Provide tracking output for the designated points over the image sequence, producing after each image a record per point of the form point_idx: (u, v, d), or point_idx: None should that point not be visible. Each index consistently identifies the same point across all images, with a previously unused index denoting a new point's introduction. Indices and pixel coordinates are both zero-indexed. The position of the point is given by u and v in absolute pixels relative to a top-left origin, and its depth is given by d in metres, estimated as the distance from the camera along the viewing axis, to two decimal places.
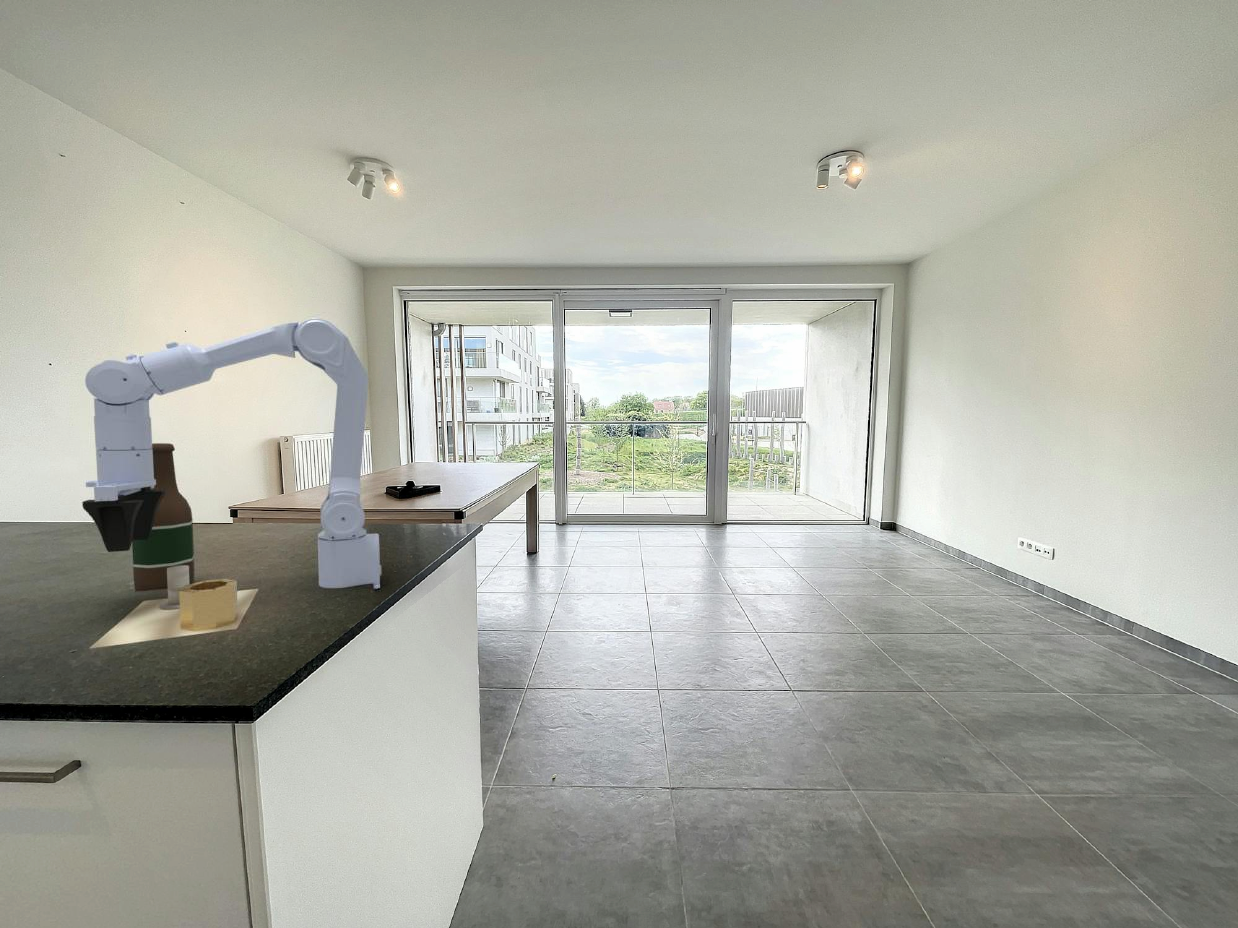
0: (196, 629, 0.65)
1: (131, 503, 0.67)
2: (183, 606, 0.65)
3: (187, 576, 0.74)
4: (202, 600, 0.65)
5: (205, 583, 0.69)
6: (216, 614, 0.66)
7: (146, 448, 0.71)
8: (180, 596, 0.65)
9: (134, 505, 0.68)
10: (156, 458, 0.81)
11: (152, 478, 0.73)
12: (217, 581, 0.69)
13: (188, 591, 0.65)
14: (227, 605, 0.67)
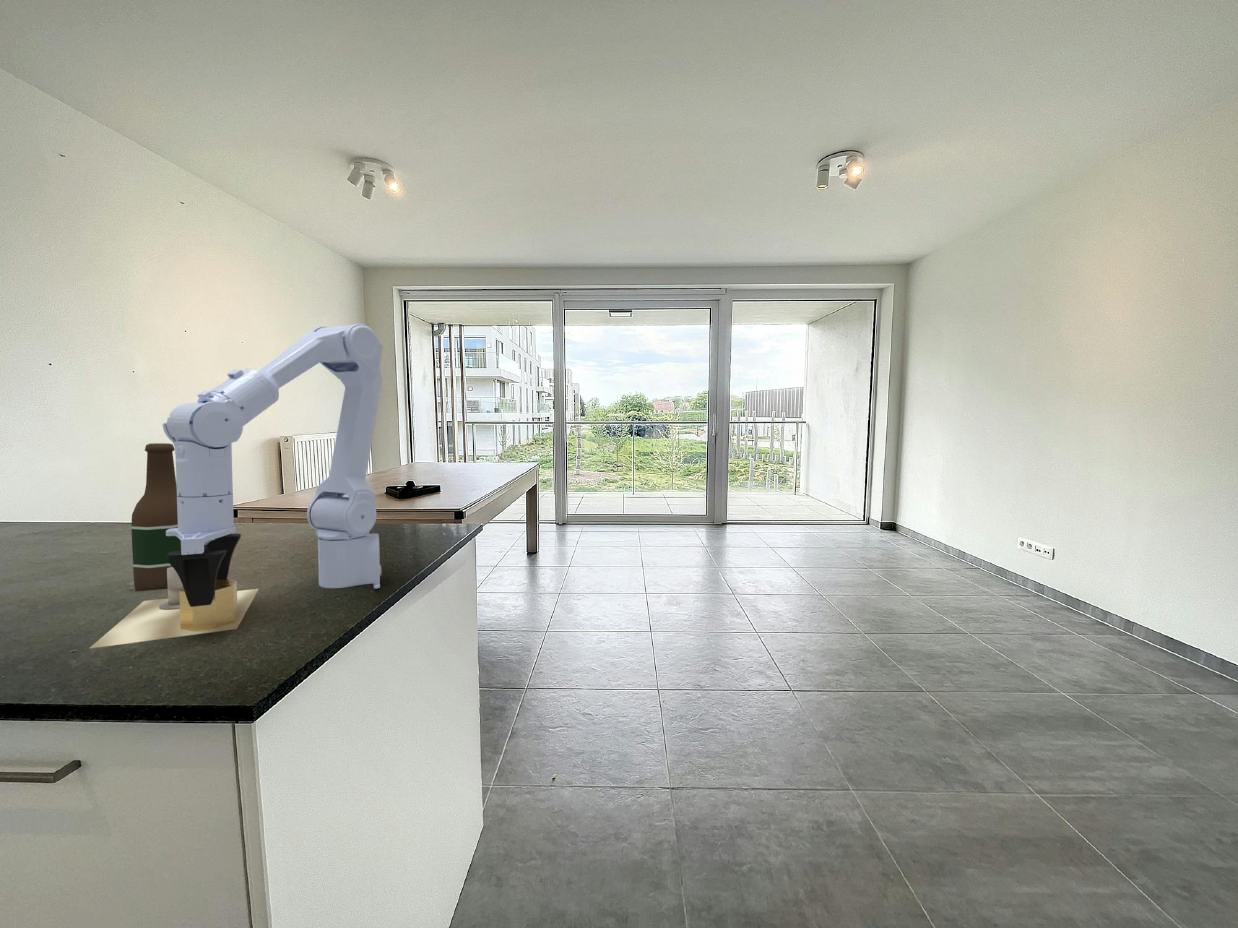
0: (196, 629, 0.65)
1: (217, 555, 0.63)
2: (183, 606, 0.65)
3: None
4: None
5: None
6: (216, 614, 0.66)
7: (232, 491, 0.68)
8: (180, 596, 0.65)
9: (220, 557, 0.63)
10: (156, 458, 0.81)
11: (232, 524, 0.68)
12: (217, 581, 0.69)
13: None
14: (227, 605, 0.67)
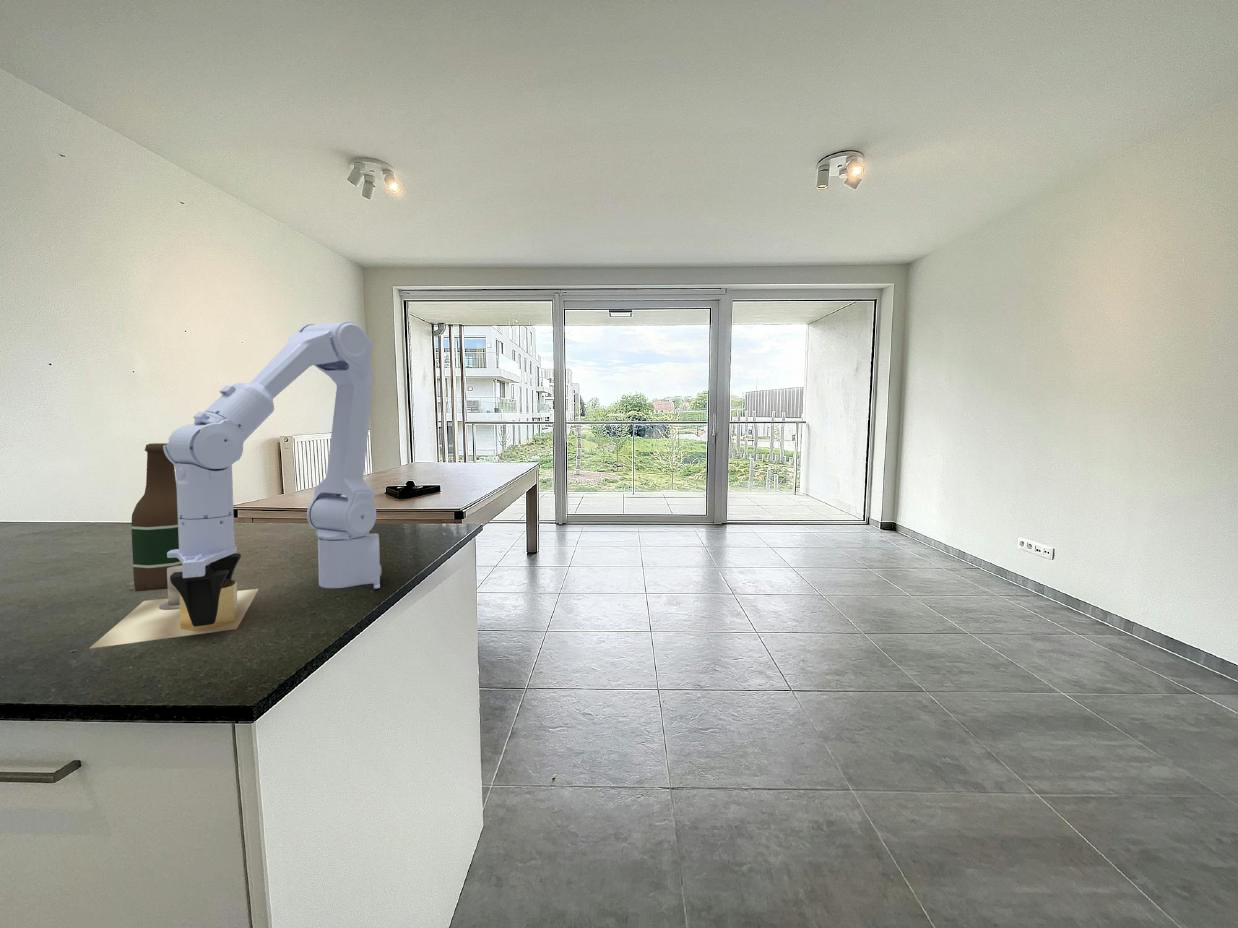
0: (196, 629, 0.65)
1: (219, 575, 0.64)
2: (183, 606, 0.65)
3: None
4: None
5: None
6: None
7: None
8: (180, 596, 0.65)
9: (223, 577, 0.64)
10: (156, 458, 0.81)
11: (233, 544, 0.68)
12: None
13: None
14: (227, 605, 0.67)
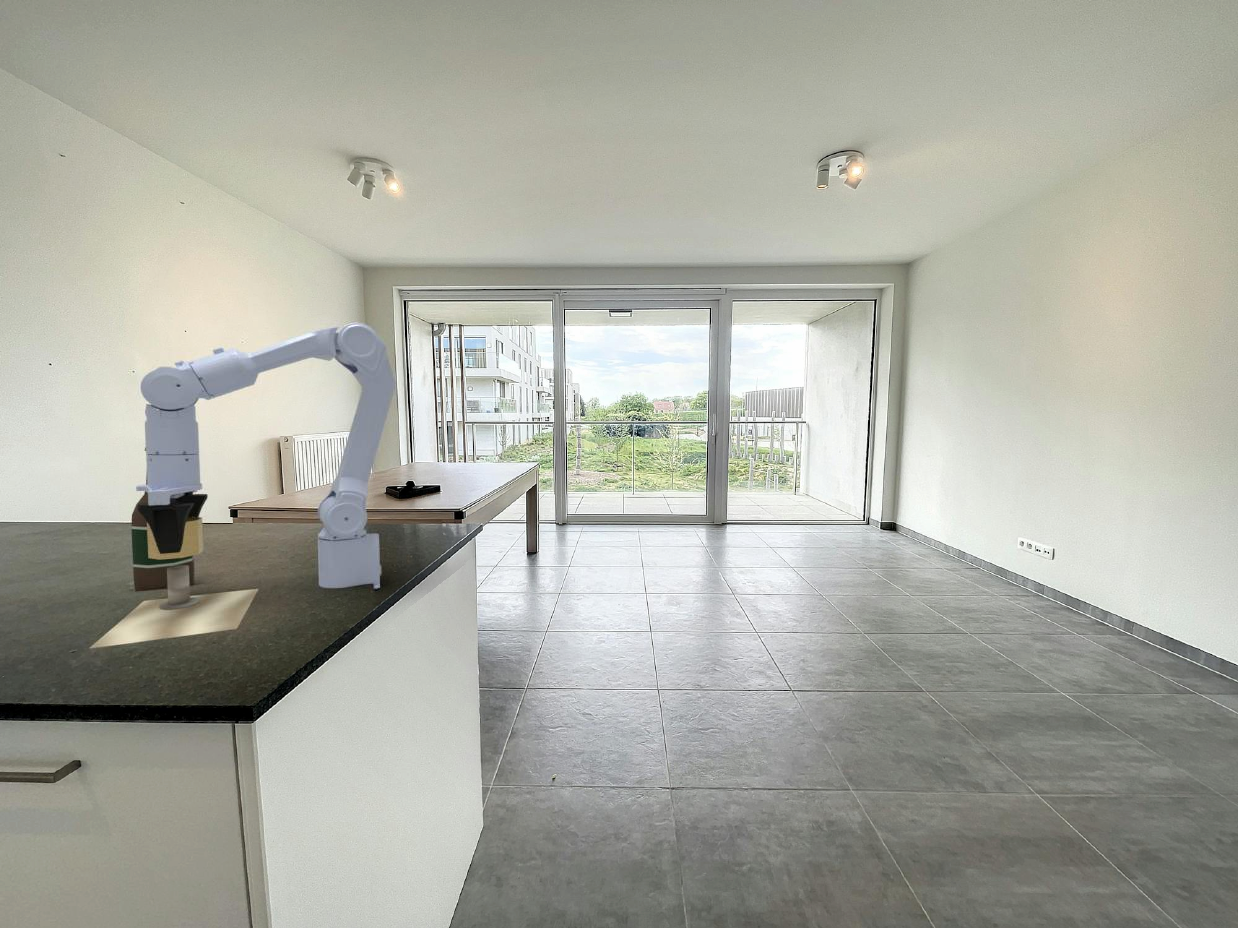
0: (162, 558, 0.71)
1: (184, 506, 0.69)
2: (150, 537, 0.71)
3: (187, 576, 0.74)
4: None
5: None
6: None
7: (195, 453, 0.73)
8: (148, 527, 0.71)
9: (187, 508, 0.70)
10: None
11: (199, 482, 0.74)
12: None
13: None
14: (192, 538, 0.73)
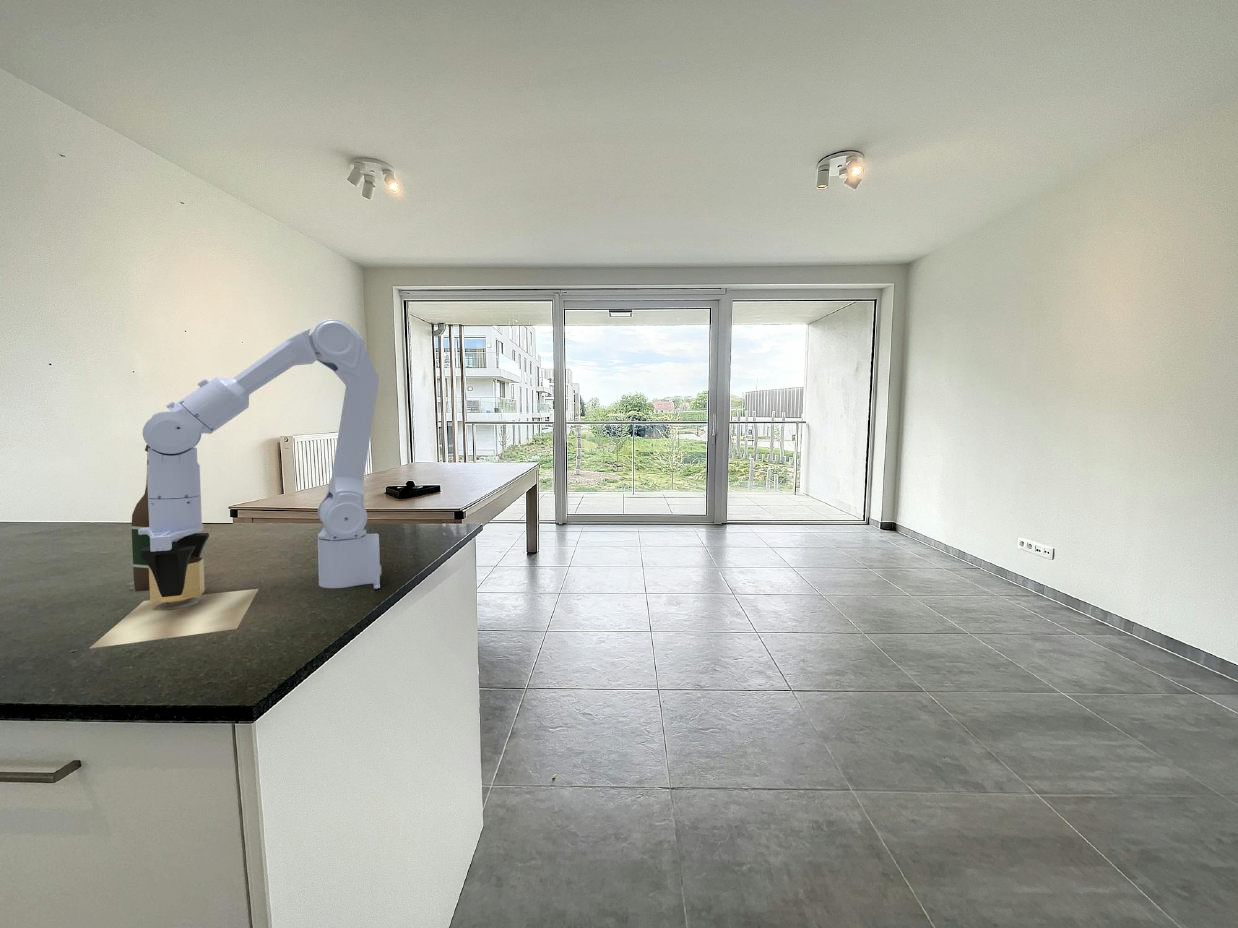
0: (164, 601, 0.71)
1: (185, 550, 0.70)
2: (152, 580, 0.71)
3: None
4: None
5: None
6: None
7: (197, 495, 0.73)
8: (149, 570, 0.71)
9: (188, 552, 0.70)
10: None
11: (200, 523, 0.74)
12: None
13: None
14: (193, 579, 0.73)
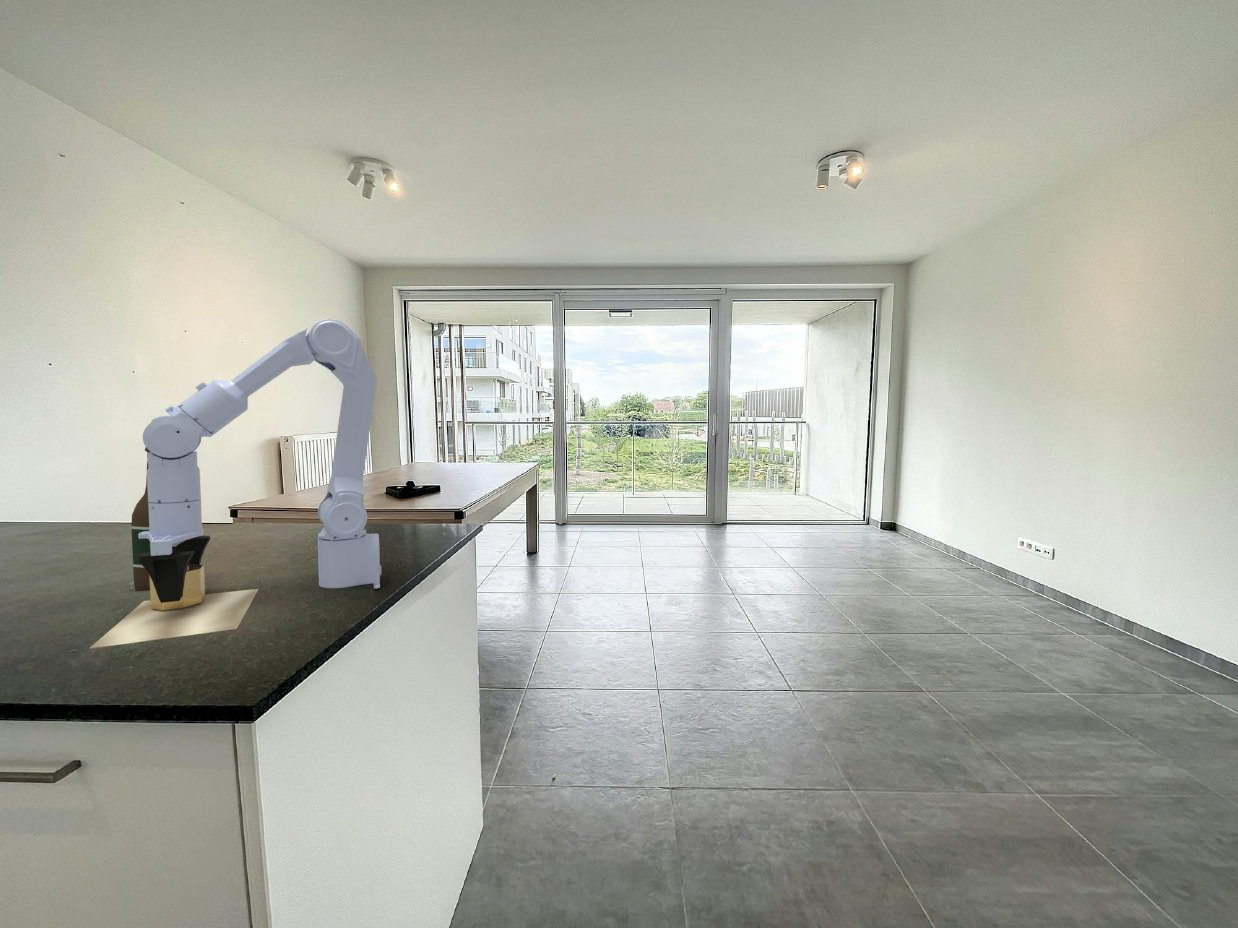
0: (165, 608, 0.71)
1: (184, 555, 0.69)
2: (153, 587, 0.71)
3: None
4: None
5: None
6: (183, 594, 0.72)
7: (197, 499, 0.73)
8: (150, 578, 0.71)
9: (187, 557, 0.69)
10: None
11: (201, 527, 0.74)
12: None
13: None
14: (194, 587, 0.73)
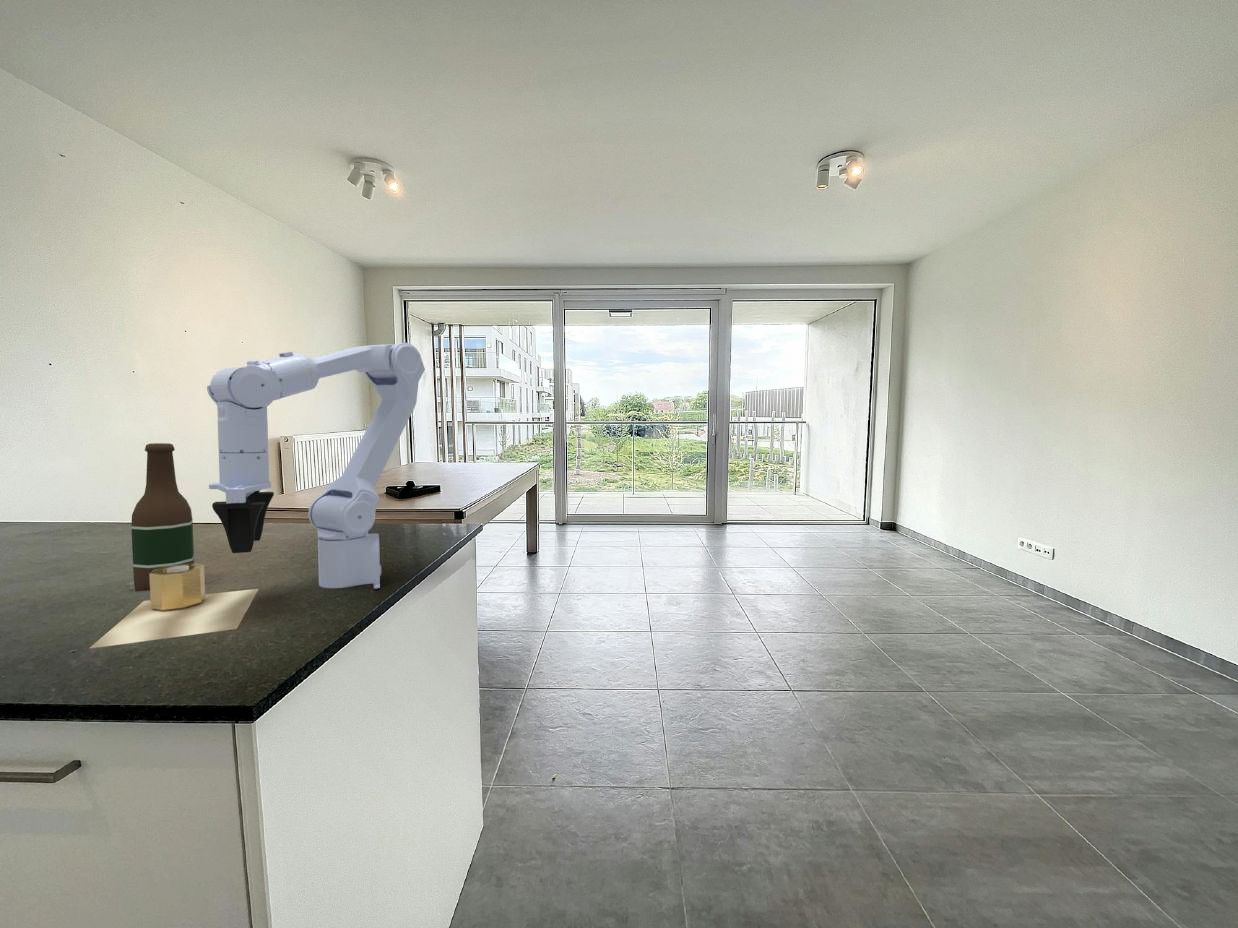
0: (165, 608, 0.71)
1: (257, 505, 0.68)
2: (153, 587, 0.71)
3: None
4: (170, 582, 0.71)
5: None
6: (183, 594, 0.72)
7: None
8: (150, 578, 0.71)
9: (260, 507, 0.69)
10: (156, 458, 0.81)
11: (268, 480, 0.74)
12: None
13: (157, 573, 0.71)
14: (194, 587, 0.73)
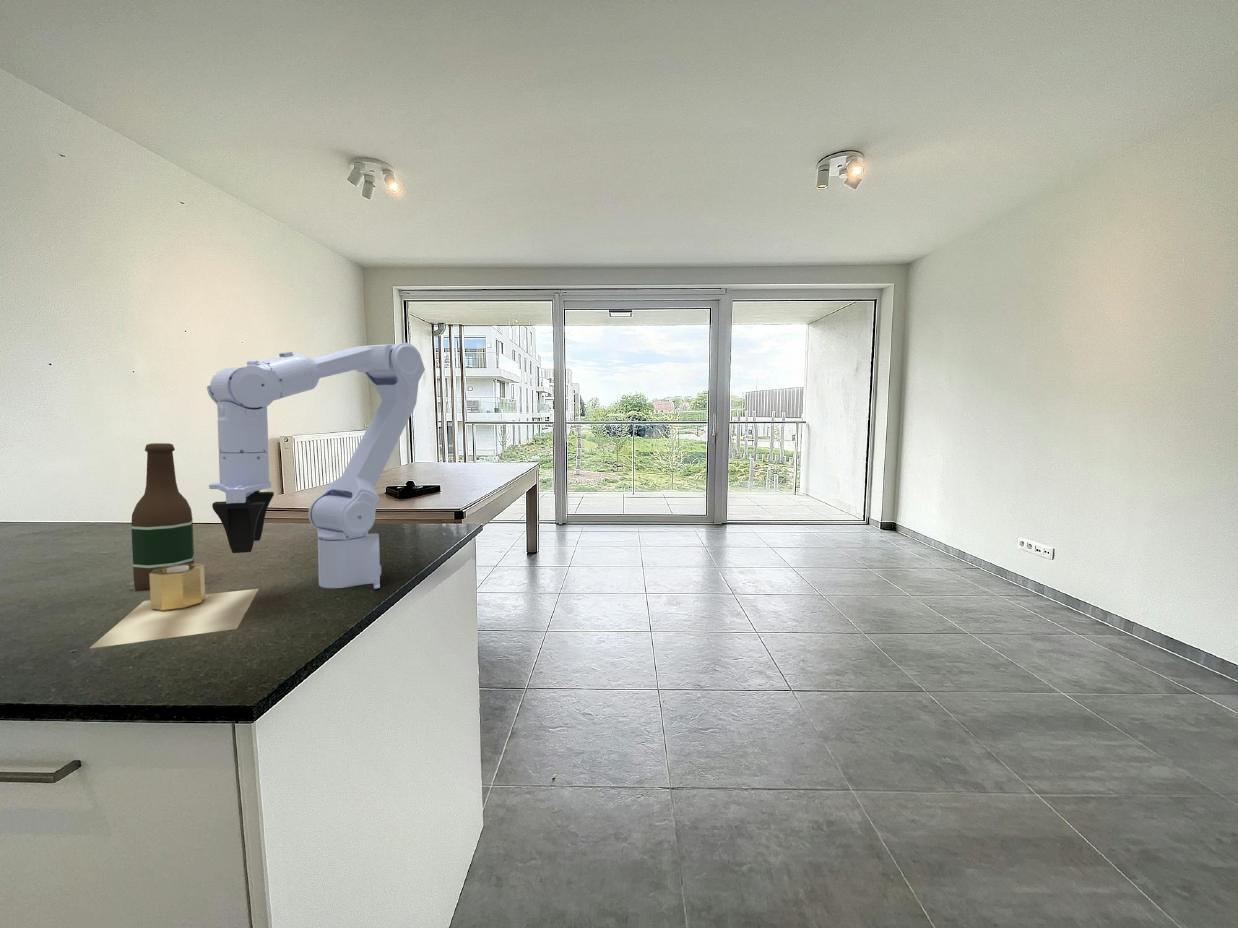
0: (165, 608, 0.71)
1: (257, 505, 0.68)
2: (153, 587, 0.71)
3: None
4: (170, 582, 0.71)
5: None
6: (183, 594, 0.72)
7: None
8: (150, 578, 0.71)
9: (260, 507, 0.69)
10: (156, 458, 0.81)
11: (268, 480, 0.74)
12: None
13: (157, 573, 0.71)
14: (194, 587, 0.73)
